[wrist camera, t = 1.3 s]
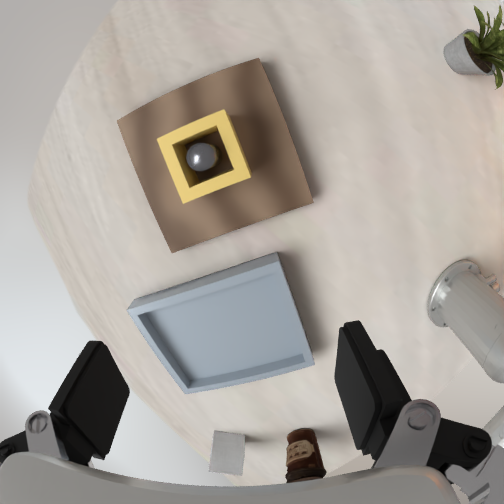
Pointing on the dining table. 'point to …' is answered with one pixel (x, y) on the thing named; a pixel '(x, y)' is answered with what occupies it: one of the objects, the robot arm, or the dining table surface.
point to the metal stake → (203, 156)
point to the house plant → (478, 50)
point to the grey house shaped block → (227, 453)
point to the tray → (226, 327)
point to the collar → (186, 176)
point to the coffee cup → (303, 457)
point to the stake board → (252, 142)
